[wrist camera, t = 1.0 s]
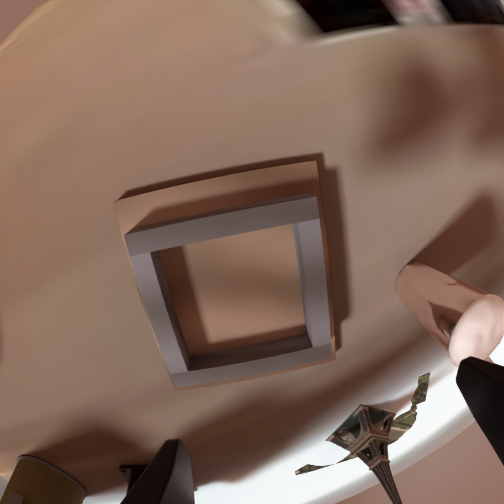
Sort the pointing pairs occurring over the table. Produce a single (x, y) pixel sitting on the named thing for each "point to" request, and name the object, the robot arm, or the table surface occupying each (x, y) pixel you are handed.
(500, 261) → the table surface
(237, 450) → the table surface
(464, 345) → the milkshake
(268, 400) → the table surface
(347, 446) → the eiffel tower figurine
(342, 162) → the table surface
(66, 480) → the canister
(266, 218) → the frame
